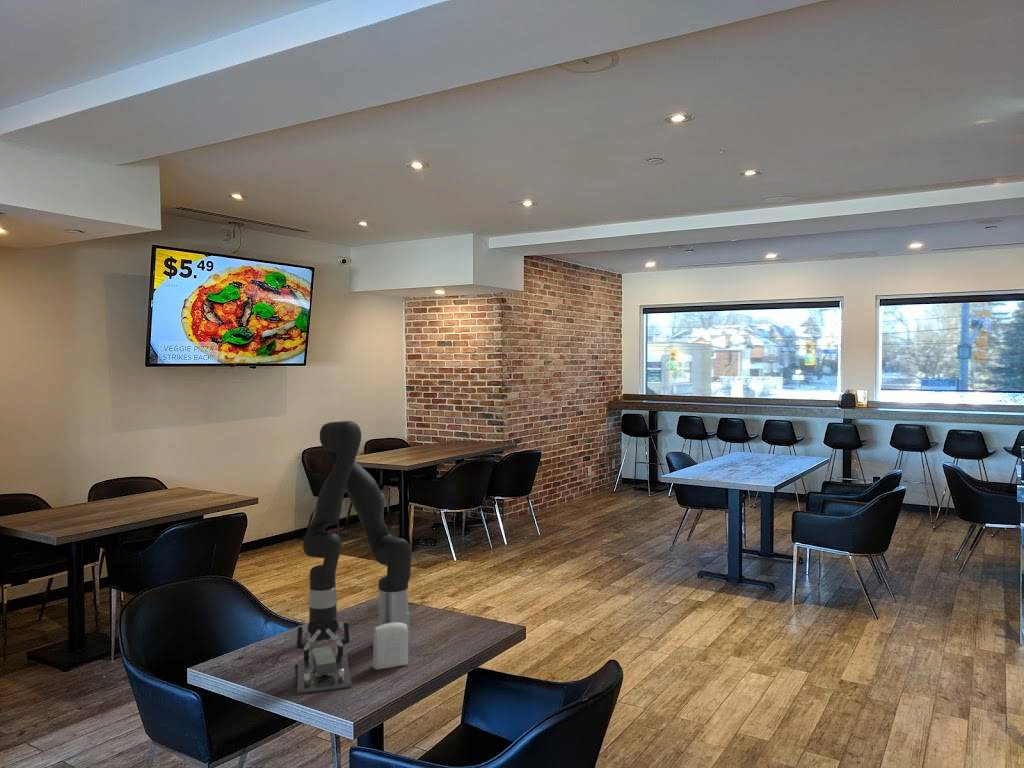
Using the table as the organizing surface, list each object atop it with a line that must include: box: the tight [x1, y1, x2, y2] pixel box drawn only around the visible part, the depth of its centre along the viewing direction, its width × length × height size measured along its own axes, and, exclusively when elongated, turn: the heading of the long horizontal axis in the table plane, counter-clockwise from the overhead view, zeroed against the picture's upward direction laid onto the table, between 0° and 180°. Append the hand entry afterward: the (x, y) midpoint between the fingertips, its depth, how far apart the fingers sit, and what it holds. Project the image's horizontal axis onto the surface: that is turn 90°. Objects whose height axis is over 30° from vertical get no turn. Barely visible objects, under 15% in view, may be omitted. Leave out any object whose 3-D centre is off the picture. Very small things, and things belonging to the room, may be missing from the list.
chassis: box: [296, 647, 352, 695], centre depth 203 cm, size 14×21×4 cm, turn 16°
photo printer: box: [372, 622, 409, 670], centre depth 209 cm, size 10×4×12 cm, turn 115°
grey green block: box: [311, 645, 336, 676], centre depth 203 cm, size 5×10×4 cm, turn 23°
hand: (323, 660), depth 203 cm, fingers open, 8 cm apart
